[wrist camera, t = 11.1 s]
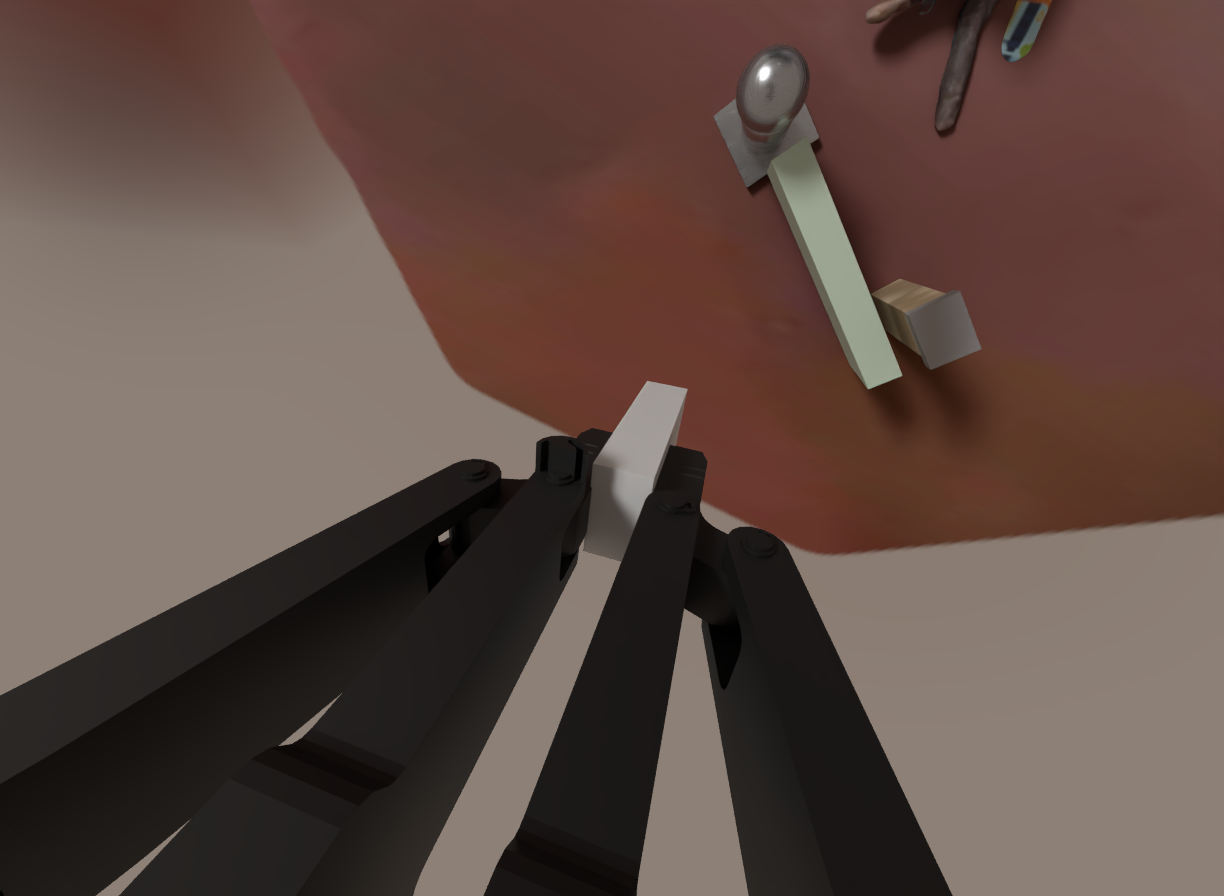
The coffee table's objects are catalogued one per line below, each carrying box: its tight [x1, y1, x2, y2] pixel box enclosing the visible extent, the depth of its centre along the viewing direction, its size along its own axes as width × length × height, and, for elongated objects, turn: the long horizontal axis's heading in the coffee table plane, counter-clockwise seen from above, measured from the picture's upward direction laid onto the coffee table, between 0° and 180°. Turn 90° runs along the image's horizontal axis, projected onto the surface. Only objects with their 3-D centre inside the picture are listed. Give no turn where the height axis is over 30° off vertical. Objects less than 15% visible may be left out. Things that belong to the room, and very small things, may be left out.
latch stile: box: [870, 279, 981, 370], centre depth 28 cm, size 2×3×10 cm
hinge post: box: [713, 44, 819, 188], centre depth 25 cm, size 5×5×11 cm
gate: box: [767, 137, 902, 389], centre depth 29 cm, size 15×2×6 cm, turn 32°
